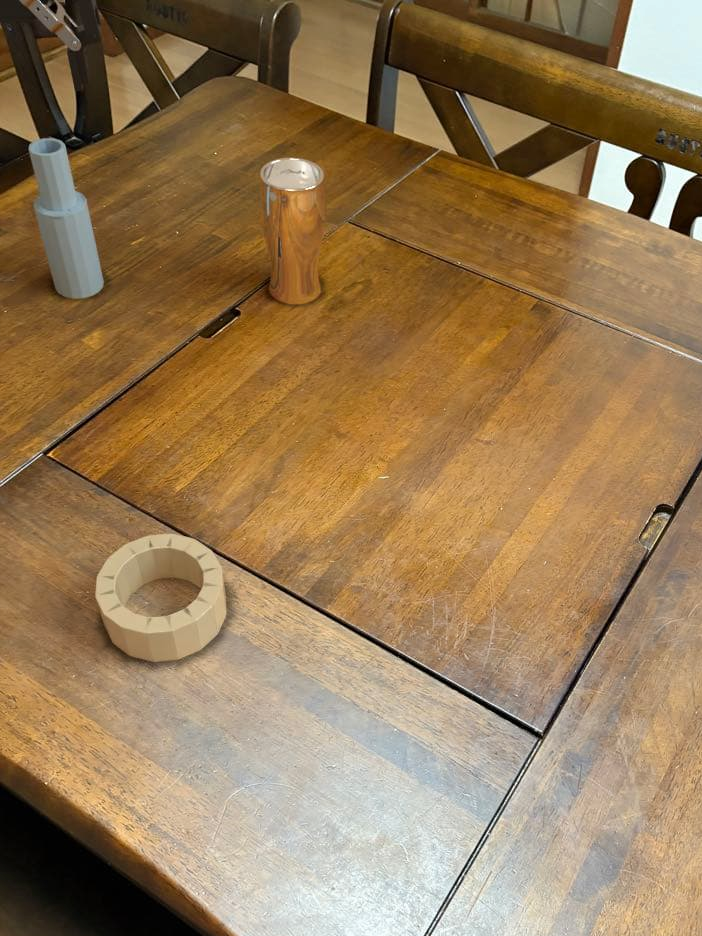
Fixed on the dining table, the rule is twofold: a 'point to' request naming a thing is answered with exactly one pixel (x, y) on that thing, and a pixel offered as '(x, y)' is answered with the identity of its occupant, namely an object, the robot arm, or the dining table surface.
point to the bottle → (64, 222)
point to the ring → (148, 564)
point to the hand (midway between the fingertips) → (32, 87)
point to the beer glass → (293, 226)
